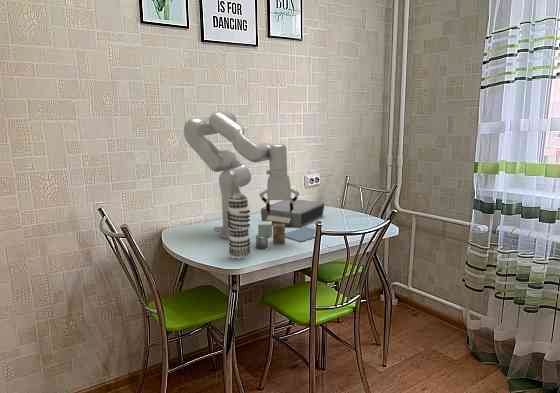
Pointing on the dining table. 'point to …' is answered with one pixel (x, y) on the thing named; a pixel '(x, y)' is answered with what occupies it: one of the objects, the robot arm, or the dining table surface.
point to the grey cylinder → (261, 241)
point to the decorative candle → (239, 226)
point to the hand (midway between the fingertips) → (279, 212)
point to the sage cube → (265, 228)
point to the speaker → (293, 213)
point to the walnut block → (278, 233)
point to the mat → (301, 234)
